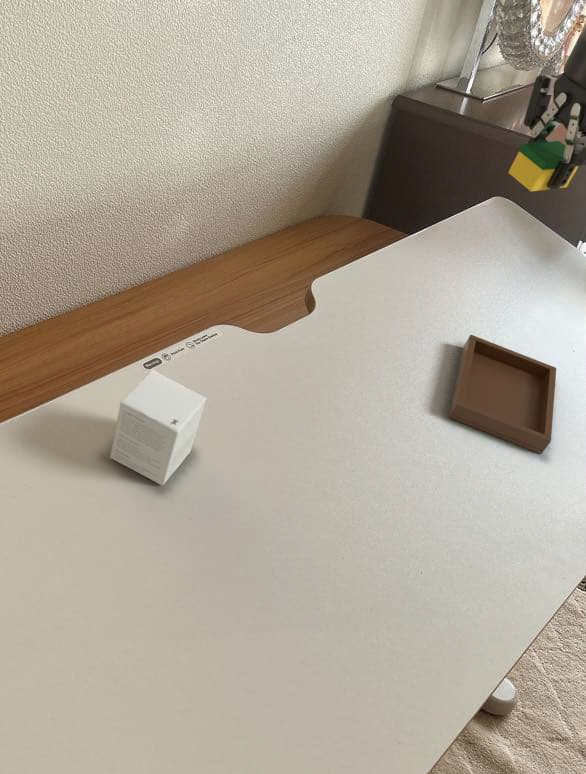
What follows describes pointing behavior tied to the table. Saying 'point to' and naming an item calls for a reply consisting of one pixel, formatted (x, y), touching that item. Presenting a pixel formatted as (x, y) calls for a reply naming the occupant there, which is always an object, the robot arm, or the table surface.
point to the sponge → (538, 164)
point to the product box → (156, 427)
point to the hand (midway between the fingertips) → (539, 176)
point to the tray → (504, 394)
